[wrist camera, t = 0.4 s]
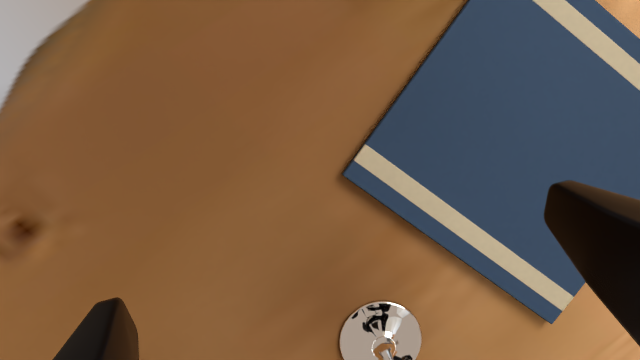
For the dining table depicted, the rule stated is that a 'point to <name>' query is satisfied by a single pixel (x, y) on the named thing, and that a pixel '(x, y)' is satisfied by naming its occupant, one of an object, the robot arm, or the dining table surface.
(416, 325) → the wineglass
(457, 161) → the napkin
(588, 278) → the robot arm
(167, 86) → the dining table surface
